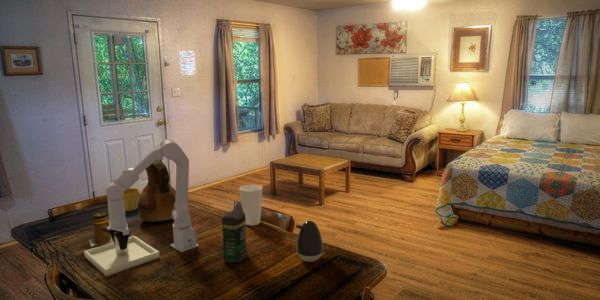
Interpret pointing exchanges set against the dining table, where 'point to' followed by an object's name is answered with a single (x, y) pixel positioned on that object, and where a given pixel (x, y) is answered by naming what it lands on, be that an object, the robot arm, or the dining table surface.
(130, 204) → the plant pot
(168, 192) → the ceramic pitcher
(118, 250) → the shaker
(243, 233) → the green squeeze bottle
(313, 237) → the pump dispenser
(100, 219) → the condiment
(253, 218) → the cup
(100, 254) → the tray
